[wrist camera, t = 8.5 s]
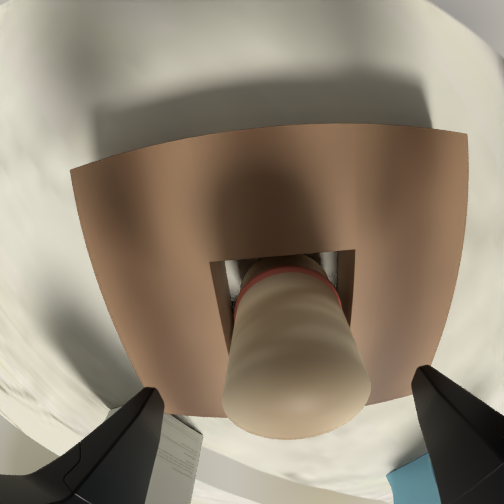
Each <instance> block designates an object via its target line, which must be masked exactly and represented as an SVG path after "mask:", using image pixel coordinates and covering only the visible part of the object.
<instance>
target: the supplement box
mask: <svg viewBox="0 0 504 504" xmlns="http://www.w3.org/2000/svg"><path fill="white" fill-rule="evenodd" d="M121 407H122V406H121ZM121 407H118V408H114V409H112V410H110V411H109V413H108V415H107V417H106V419H105V421H106V420H107V419H108V418H109V417H110V416H112V415H113V414H114V413H115V412H116V411H117V410H119V409H120V408H121ZM202 440H203V435H201V434H199V433H198V432H196V431H194V430H193V429H191V428H190V427H188V426H187V425H185V424H184V423H182V422H181V421H179V420H178V419H176V418H175V417H173V416H172V415H171V414H167V413H164V415H163V422H162V429H161V437H160V443H159V447H158V451H157V455H156V459H155V463H154V467H153V471H152V475H151V479H150V484H149V488H148V492H147V496H146V501H145V504H190V503H191V498H192V493H193V488H194V482H195V477H196V472H197V467H198V461H199V456H200V450H201V445H202Z"/></svg>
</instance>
